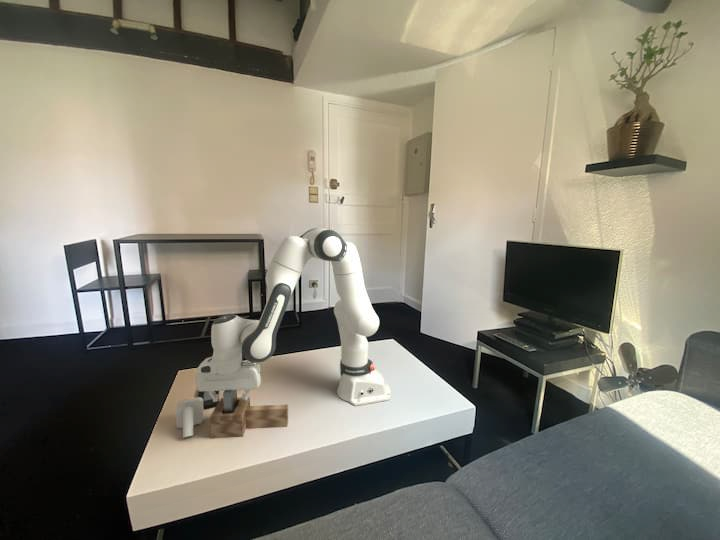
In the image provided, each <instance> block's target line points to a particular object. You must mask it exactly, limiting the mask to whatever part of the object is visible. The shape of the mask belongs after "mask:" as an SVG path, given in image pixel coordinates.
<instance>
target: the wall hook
mask: <svg viewBox="0 0 720 540" xmlns="http://www.w3.org/2000/svg"><path fill="white" fill-rule="evenodd" d="M204 411H205V410H204V409H203V399H202V398H201V397H198V396H197V397H193V398H187V399H182V400H180V401H178V402H177V404H176V407H175V422H176V427H177V428H179V429H182V439H183V438H189V437H192V436H194V426H195V425H196V426H197V425H200V424H201V423H202V422H203V421H204V418H205V417H204V415H205V413H204Z"/></svg>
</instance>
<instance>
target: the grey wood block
mask: <svg viewBox="0 0 720 540" xmlns="http://www.w3.org/2000/svg"><path fill="white" fill-rule="evenodd" d="M222 398H223V402H224V414H227V413H234V411H235V409H236V407H237V405H238V401H237V398H238V390H224V391H223V392H222Z"/></svg>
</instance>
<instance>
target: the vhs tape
mask: <svg viewBox="0 0 720 540" xmlns="http://www.w3.org/2000/svg"><path fill="white" fill-rule="evenodd" d="M215 393H216V394H217V395H219V396H220V391H215ZM197 397H201V398H202V399H203V409H204V411H205V410H208V409H213V408H214V409H215V407H216V406H217V404H218V402H219V401H220V399H219V400H218V402H213V398H212V397H211V396H210V394H209V391H198V394H197Z"/></svg>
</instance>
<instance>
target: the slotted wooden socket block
mask: <svg viewBox="0 0 720 540" xmlns="http://www.w3.org/2000/svg"><path fill="white" fill-rule="evenodd" d="M237 401H238V405H237V407H236V409H235V411H234V413H227V414H224V402H223V397H222V398H219V402H218V404H217V406H216V407H214V410H213V411H212V412H211V414H210V416H209V421H210V422H209V423H210V434H211V436H210V437H211V439H224V438H225V439H226V438H227V439H228V438H242V437H244V435H245V433H246V430H249V429H266V428H267V429H268V428H269V429H271V428H287V427H288V424H289V404H288V403H287V404H269V405H267V404H265V405H251V398H250V396H248V398H247V400H246V401H242V396H241V397H239V396H238V397H237Z"/></svg>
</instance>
